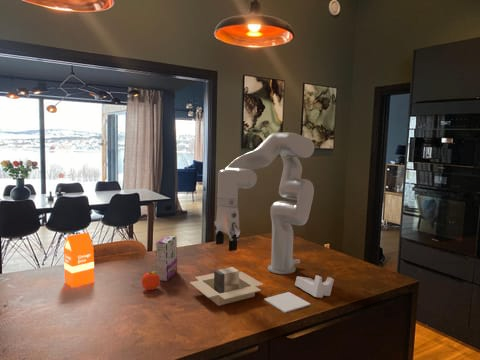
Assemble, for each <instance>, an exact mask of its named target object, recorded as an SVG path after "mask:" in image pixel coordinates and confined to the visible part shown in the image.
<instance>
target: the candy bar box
mask: <svg viewBox="0 0 480 360" xmlns="http://www.w3.org/2000/svg"><path fill="white" fill-rule="evenodd" d="M177 242H178V241H177V236H175V235H166V236H164V237H163V238H161V239H160V240H157V242H156V243H155V246H156V247H155V248H156V249H155V250H156V273H157V274H158V275H159V277H160V282H161V281H162V282H169V280H170V279H171V278H173V276H174V275H175V274H177V272H178V255H177V254H178V252H177V251H178V250H177V245H178V244H177ZM158 272H159V273H158ZM160 274H161V275H160Z"/></svg>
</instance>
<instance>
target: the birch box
mask: <svg viewBox="0 0 480 360" xmlns="http://www.w3.org/2000/svg"><path fill="white" fill-rule="evenodd" d="M213 272H214V288H213V289H214V290H215V291H217V292H218V293H219V294H220V293H224V292H229V291H233V290H237V289H240V288H239V272H240V270H239V269H237V268H235V267H233V266H230V267H225V268H221V269H216V270H213Z"/></svg>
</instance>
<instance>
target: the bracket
mask: <svg viewBox="0 0 480 360" xmlns="http://www.w3.org/2000/svg"><path fill="white" fill-rule="evenodd" d="M334 281H335V279H334V278H332V277H331V276H327V277H326V280H325V281H323V277H321V276H319V275H315V277H314V279H313V278H311V277H305V276H297V275H296V279H295V282H294V286H296V287H298V288H300V290H303V291H304V292H305V293H308V294H310V295H311V296H312V297H315V298H323V297H330V296H331V295H332V293H331V292H332V289H333V285H334Z"/></svg>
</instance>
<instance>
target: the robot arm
mask: <svg viewBox="0 0 480 360" xmlns="http://www.w3.org/2000/svg"><path fill="white" fill-rule="evenodd" d="M314 152H315V143H314V142H313V141H312V139H311V138H309V137H307V136H304V135H300V134H298V133H296V132H288V131H287V132H286V131H285V132H273V133H270V134H269V135H268V136H267V137H266V138H264V139H263V141H262V142H261V143H260V144H259V145H258V146H257V147H256V148H254V149H253V150H252V151H248V152H247V153H244V154H243V155H240V156H238V157H237V158H235V159H233V161H231V162H230V163H229V164H228V165H227V166H226V167H225V168H224V169H223V168H222V169H219V171H218V173H217V199H216V200H217V202H216V207H217V208H216V216H215V220H214V222H213V223H214V224H213V225H214V230H215V232H214V233H215V234H216V235H215V245H218V246H219V245H224V242H225V240H224V239H225V237H224V236H225V234H226V235H228V236H229V237H228V238H229V240H228V251H229V252H235V251H237V250H238V241H239V238H240V233H241V229H240V215H239V214H240V212H239V208H238V200H239V199H238V198H239V197H238V196H239V195H238V194H239V189H251V188H253V187H255V185H256V184H257V181H258V176H257V174H256V172H255V171H254V170H257V169H262V168H265V167H268V166H270V165H271V164H272V163H273V161H274V160H275V159H276V158H277V157H278V156H279V155H280V156H281V160H282V163H283V167H282V172H281V178H280V183H279V187H278V194H279V196H280V197H282V198H284V199H288V200H295V201H296V202H293V201H287V200H276V201H275V202H273V203H272V205H271V206H270V208H269V209H270V219H271V255H270V256H271V257H270V258H271V259H270V260H271V261H270V264H268V265H267V270H268V272H271V273H274V274H276V275H289V274H293V273H295V272H296V268H297V267H296V266H295V265H296V264H301V259H299V258H297V259H295V258H293V253H294V252H293V251H294V229H293V226H292V225H295V226H304V225H305V224H306V223H307V222H308V220H309V218H310V217H309V216H310V214H311V213H310V212H311V209H312V208H311V207H312V204H313V200H314V195H315V194H314V193H315V188H314V184H313V182H311V180H309V179H304V178H302V174H303V166H302V163H301V162H300V159H299V158H302V159H303V158H304V159H305V158H306V159H307V158H310V157H312V156H313V154H314Z"/></svg>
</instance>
